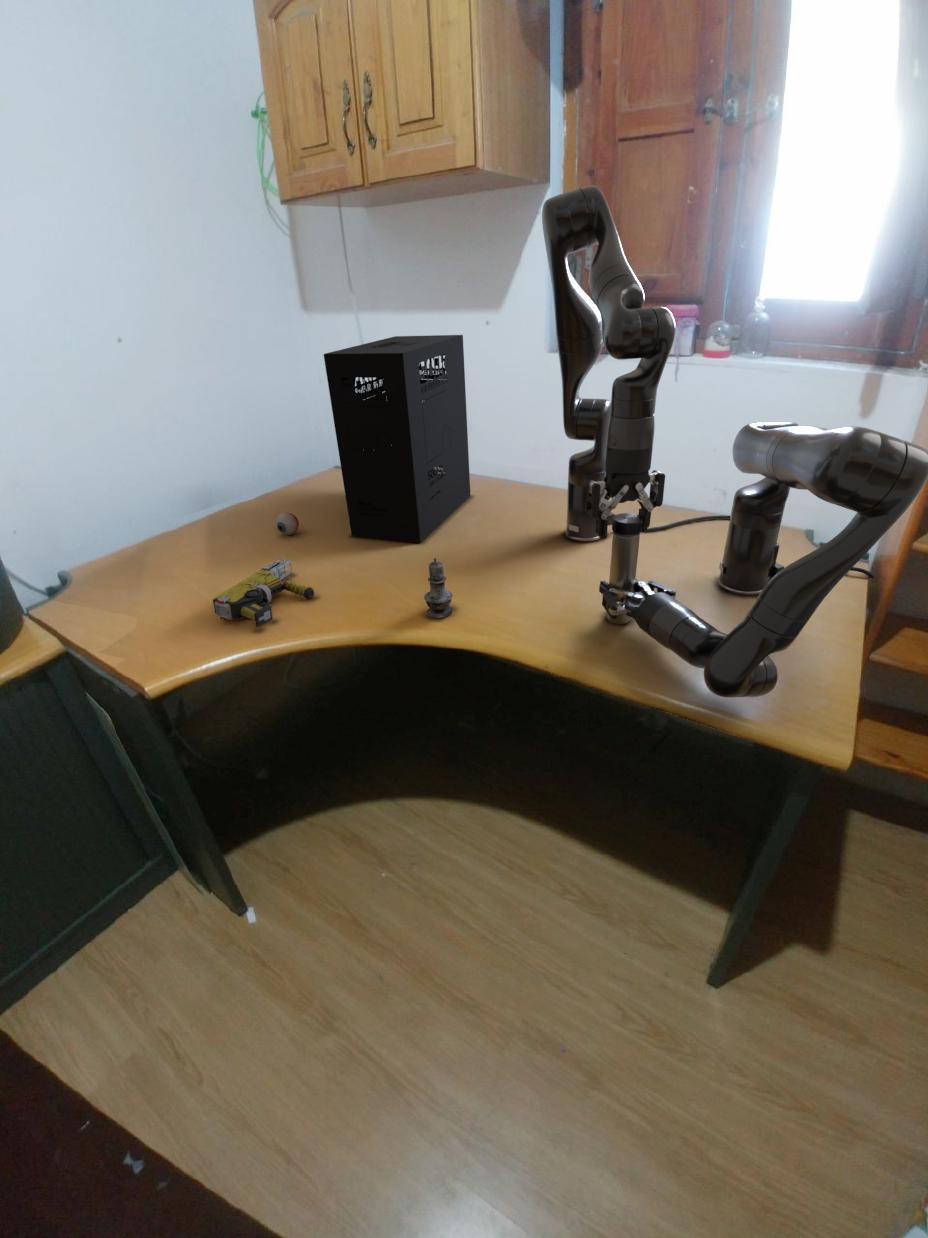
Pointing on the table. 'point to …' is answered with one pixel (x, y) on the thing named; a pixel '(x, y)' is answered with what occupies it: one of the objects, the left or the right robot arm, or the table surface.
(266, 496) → the table surface
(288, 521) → the eyeball
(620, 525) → the lid
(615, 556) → the metal thermos bottle
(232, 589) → the toy gun
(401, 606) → the table surface
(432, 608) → the dark chess piece
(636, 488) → the left robot arm
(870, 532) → the right robot arm
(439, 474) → the cardboard box
